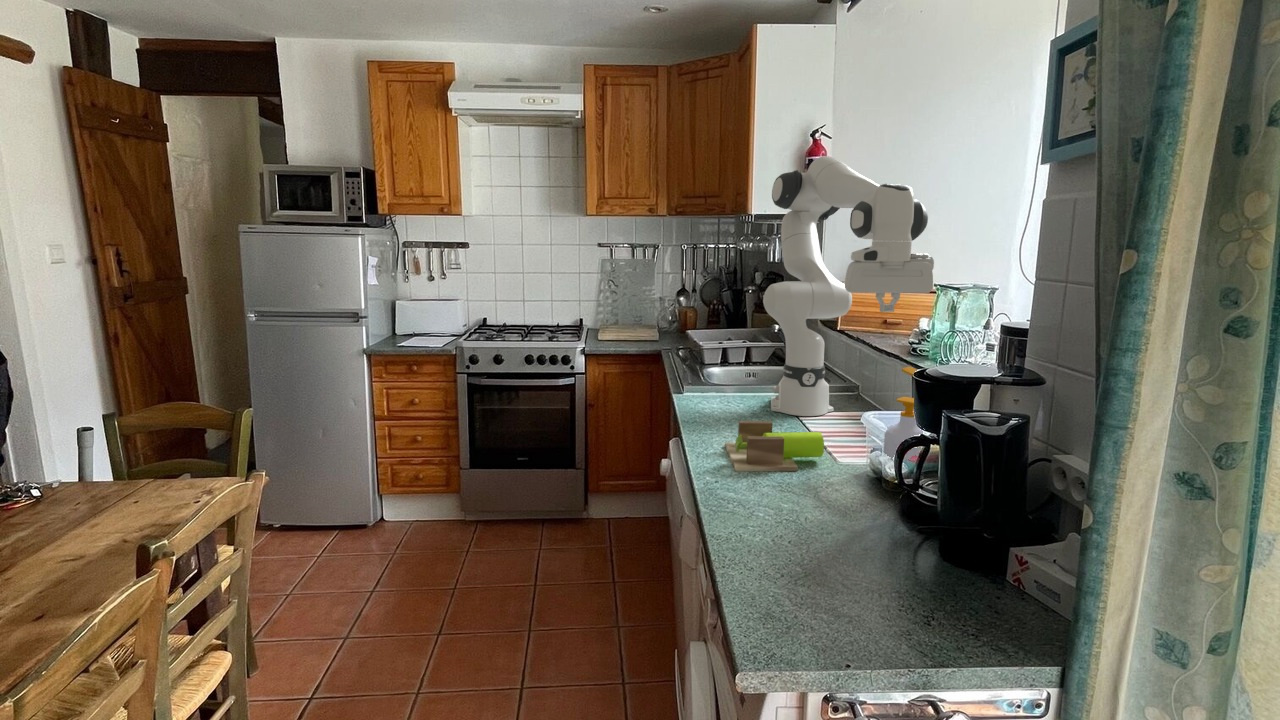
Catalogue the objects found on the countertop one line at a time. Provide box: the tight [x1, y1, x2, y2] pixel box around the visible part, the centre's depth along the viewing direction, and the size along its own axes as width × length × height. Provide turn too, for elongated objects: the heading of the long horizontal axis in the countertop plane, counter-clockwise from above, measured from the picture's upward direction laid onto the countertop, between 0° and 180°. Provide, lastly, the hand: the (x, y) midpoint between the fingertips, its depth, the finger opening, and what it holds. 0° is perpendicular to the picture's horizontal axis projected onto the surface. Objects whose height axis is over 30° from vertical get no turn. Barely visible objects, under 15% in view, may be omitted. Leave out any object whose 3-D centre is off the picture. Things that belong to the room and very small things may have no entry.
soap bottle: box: [883, 366, 923, 462], centre depth 145 cm, size 9×9×25 cm
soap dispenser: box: [734, 431, 825, 459], centre depth 157 cm, size 6×7×20 cm
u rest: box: [724, 420, 799, 472], centre depth 160 cm, size 18×14×7 cm
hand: (886, 311), depth 162 cm, fingers closed
